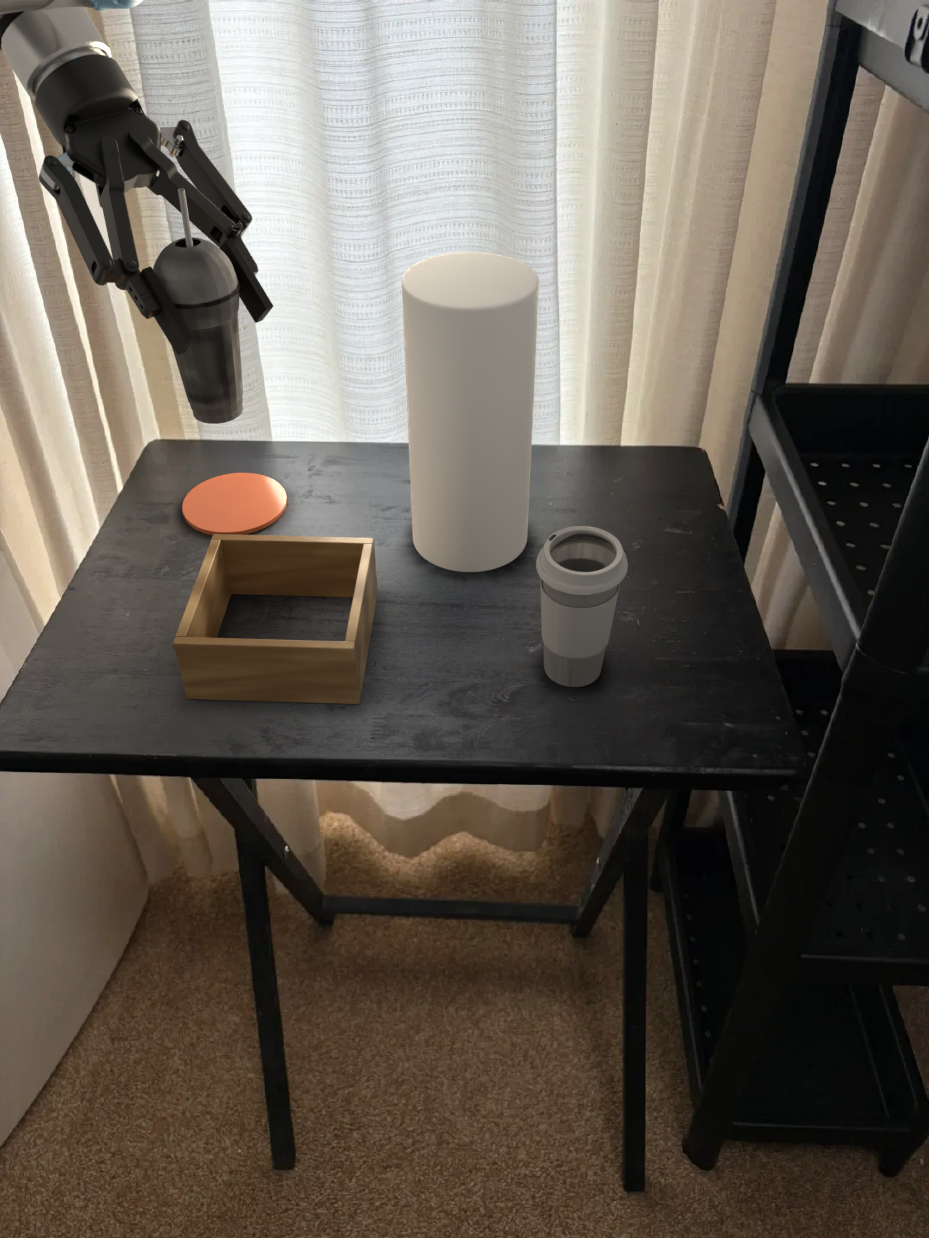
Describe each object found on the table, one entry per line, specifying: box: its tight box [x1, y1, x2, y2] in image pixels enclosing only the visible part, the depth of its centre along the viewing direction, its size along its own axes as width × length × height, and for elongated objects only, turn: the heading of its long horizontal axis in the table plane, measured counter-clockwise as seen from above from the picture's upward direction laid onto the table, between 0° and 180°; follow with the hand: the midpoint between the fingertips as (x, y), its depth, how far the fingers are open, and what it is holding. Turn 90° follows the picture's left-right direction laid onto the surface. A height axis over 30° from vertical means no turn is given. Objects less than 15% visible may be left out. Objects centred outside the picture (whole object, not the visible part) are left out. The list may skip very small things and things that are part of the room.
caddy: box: [172, 534, 379, 705], centre depth 85 cm, size 14×14×6 cm
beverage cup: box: [152, 189, 244, 425], centre depth 88 cm, size 7×7×20 cm
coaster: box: [181, 472, 288, 536], centre depth 101 cm, size 10×10×1 cm
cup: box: [535, 525, 629, 688], centre depth 81 cm, size 7×7×12 cm
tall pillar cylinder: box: [401, 251, 540, 573], centre depth 89 cm, size 11×11×25 cm
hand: (226, 330), depth 87 cm, fingers closed on beverage cup, 7 cm apart
